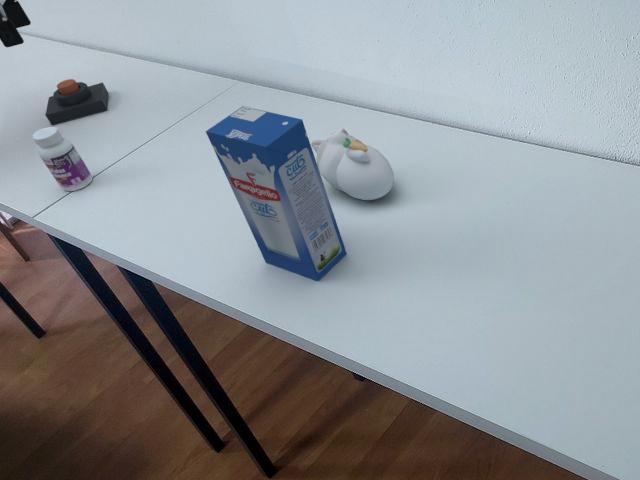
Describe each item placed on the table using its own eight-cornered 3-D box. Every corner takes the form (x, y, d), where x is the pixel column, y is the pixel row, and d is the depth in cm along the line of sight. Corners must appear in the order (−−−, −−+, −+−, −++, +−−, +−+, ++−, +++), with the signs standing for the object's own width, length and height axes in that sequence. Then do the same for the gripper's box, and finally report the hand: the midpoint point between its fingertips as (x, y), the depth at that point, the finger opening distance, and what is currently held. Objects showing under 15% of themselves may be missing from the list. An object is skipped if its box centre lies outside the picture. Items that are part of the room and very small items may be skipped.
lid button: (61, 97, 127) (55, 89, 126) (62, 90, 130) (57, 82, 128) (79, 92, 128) (74, 84, 127) (80, 85, 130) (75, 77, 129)
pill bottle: (58, 195, 109) (22, 144, 102) (66, 178, 112) (32, 127, 105) (89, 188, 109) (56, 137, 102) (97, 172, 112) (65, 121, 105)
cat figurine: (387, 143, 88) (312, 108, 94) (357, 193, 88) (285, 155, 94) (416, 175, 97) (346, 141, 103) (389, 220, 97) (320, 183, 103)
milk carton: (265, 262, 89) (204, 131, 74) (294, 236, 92) (242, 105, 78) (318, 281, 85) (265, 146, 70) (347, 254, 88) (302, 119, 73)
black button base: (51, 125, 128) (39, 106, 125) (55, 106, 134) (43, 88, 131) (107, 110, 129) (96, 91, 126) (108, 92, 135) (98, 73, 132)
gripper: (-62, -81, 108) (5, 24, 121) (-87, -55, 97) (-11, 58, 109) (-16, -91, 109) (45, 14, 122) (-36, -66, 98) (34, 47, 110)
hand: (19, 35), depth 116 cm, fingers open, 9 cm apart
